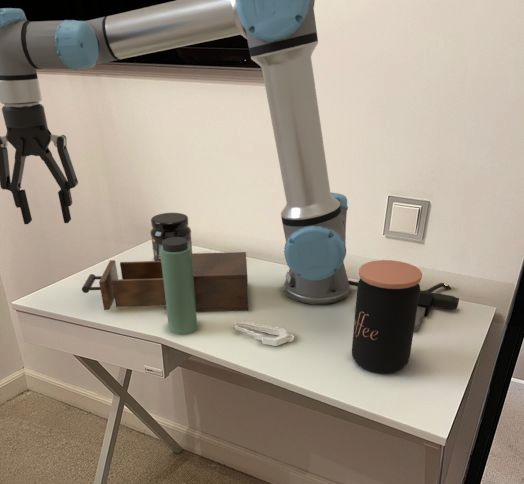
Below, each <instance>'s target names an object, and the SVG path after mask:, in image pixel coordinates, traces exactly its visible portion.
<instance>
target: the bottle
mask: <svg viewBox="0 0 524 484" xmlns="http://www.w3.org/2000/svg"><path fill="white" fill-rule="evenodd" d="M192 254H193V253H192ZM192 254H191V246H190V245H188V244H187V239H186V238H183V237H170V238H166V239H164V240H163V241H162V246H161V247H160V256H161V265H162V273H163V282H164V291H165V300H166V306H165V308H166V317H167V326H168V331H169V332H170V333H172V334H175V335H189V334H192V333H194V332H195V331H197V329H198V327H199V326H198V316H197V312H196V302H195V290H194V278H193V266H192Z"/></svg>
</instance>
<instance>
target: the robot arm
mask: <svg viewBox="0 0 524 484" xmlns="http://www.w3.org/2000/svg"><path fill="white" fill-rule="evenodd" d="M315 1H316V0H173V1H168V2H164V3H159V4H154V5H150V6H147V7H146V6H145V7H142V8H138V9H137V8H136V9H134V10H129V11H125V12H119V13H116V14H112V15H107V16H102V17H98V18H97V17H96V18H93V19H89V20H75V19H64V20H43V21H42V20H41V21H40V20H39V21H34V20H28V19H27V16H26V14H25V11H24V10H23V9H22V8H16V7H15V8H13V7H5V8H4V7H3V8H0V104H2V105H3V106H2V108H1V112H2V116H3V120H4V124H5V128H6V133H5V134H6V135H2V136H0V189H2V190H7V191H10V192H11V194H12V199H13V202H14V206H15V208H19V209H20V212H21V213H20V214H21V216H22V217H21V218H22V221H23V224H24V225H29V224H30V223H31V222H32V221H33V218H32V214H31V210H30V205H29V201H28V196H27V192H26V189H22V180H23V175H24V169H25V165H26V164H25V163H26V159H27V157H29V156H34V157H40V159H41V161H43V163H44V164H45V165H46V167H47V169H48V170H49V172H50V174H51V175H52V177H53V178H54V180H55V182H56V183H57V185H58V187H59V188H60V189H59V190H58V191H57V194H58V199H59V204H60V209H61V214H62V219H63V223H64V224H69V223H70V221H71V220H72V217H71V211H70V207H72V205H73V197H72V192H71V189H74V188H75V187H77V185H78V184H79V181H78V177H77V175H76V171H75V168H74V165H73V162H72V160H71V157H70V153H69V150H68V148H67V136H66V135H64V134H61V135H58V134H52V132H51V131H50V130H49V127H48V120H47V117H46V111H45V107H44V105H43V104H41V102H42V101H43V98H42V92H41V88H40V87H41V86H40V82H39V77H38V72H37V70H42V69H45V70H47V69H48V70H73V71H78V70H86V69H93V68H94V67H95V66H96V65H97V66H98V65H105V64H107V63H109V62H115V61H119V60H123V59H129V58H132V57H138V56H143V55H147V54H151V53H152V54H153V53H157V52H163V51H168V50H171V49H172V50H173V49H176V48H181V47H187V46H191V45H196V44H200V43H205V42H206V43H207V42H211V41H215V40H220V39H224V38H230V37H234V36H235V37H236V36H239V35H240V36H242V37H243V38H244V39H246V40H247V45H248V51H249V55H250V59H251V61H253V62H255V63H256V64H257V65H258V66H260V69H261V72H262V76H263V82H264V89H265V92H266V99H267V104H268V110H269V115H270V121H271V126H272V130H273V131H272V133H273V137H274V143H275V148H276V153H277V159H278V163H279V169H280V175H281V180H282V186H283V191H284V197H285V202H286V203H285V206H284V207H283V209H282V210H281V212H280V217H281V223H282V228H283V234H284V239H285V243H284V248H283V249H284V250H283V255H284V259H285V263H286V265H287V267H288V270H287V271H286V273H285V280H284V293H285V295H287V297H288V298H290V299H291V300H294V301H296V302H299V303H302V304H307V305H329V304H334V303H338V302H340V301H343V300H345V298H347V297H348V295H349V293H350V286H353V287H357V285H358V282H357V281H354V280H349V277H348V274H347V269H346V266H345V263H344V262H345V258H346V255H347V246H346V244H347V243H346V239H347V238H346V234H347V233H346V231H347V230H346V229H347V227H346V226H347V214H348V209H349V206H348V198H347V196H346V195H345V194H342V193H338V192H331V187H330V180H329V175H328V174H329V173H328V165H327V159H326V151H325V145H324V138H323V132H322V122H321V117H320V109H319V104H318V95H317V89H316V82H315V76H314V75H315V74H314V67H313V61H312V60H313V59H312V55H313V52H314V51H315V50H316V48H317V46H318V44H319V39H318V32H317V24H316V23H317V22H316V16H315ZM51 142H52V143H53V146H54V147H56V150H57V154H58V157H59V161H60V162H61V165H62V168H63V171H64V172H63V171H62V169H61V168H60V166H59V165H58V163H57V161H56V159H55V158H54V156H53V153H52V152H51V150H50V148H49V145H50V143H51ZM9 144H10V145H11V146H12V147H13V149H15V153H14V164H13V170H12V176H11V170H10V162H9V151H8V147H9ZM64 173H65V174H64ZM444 283H445V282H440V283H437V284H435V285H434V286H432V287H430V288H428V289H424V290H423V291H427V292H433V293H434V292H435V291H437V290H438V289H440V288H444V289H446V290H452V286H450V285H449V284H448V286H445V285H444Z"/></svg>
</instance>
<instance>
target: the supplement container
mask: <svg viewBox="0 0 524 484" xmlns="http://www.w3.org/2000/svg"><path fill="white" fill-rule="evenodd" d="M150 225H151V230H150V237H151V243H152V253H153V254H152V255H153V261H161V256H160V247H161V246H162V241H163V240H164V239H166V238H170V237H183V238H186V239H187V244H188V245H190V246H191V254H193V243H192V229H191V227H190V226H189V216H187V214H184V213H182V212H181V213H180V212H163V213H158V214H156V215H154V216H153V217H151V219H150Z"/></svg>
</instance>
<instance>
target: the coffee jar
mask: <svg viewBox="0 0 524 484" xmlns="http://www.w3.org/2000/svg"><path fill="white" fill-rule="evenodd" d="M358 275H359V280H358V285H357V286H356V297H355V309H354V321H353V332H352V342H351V343H352V344H351V356H352V359H353V360H354V362H355V363H356V364H357V366H358V367H360V368H361V369H362V370H365V371H367V372H369V373H375V374H380V375H381V374H382V375H387V374H395V373H396V372H399V371H401V370H402V369H403V368H404V367H405V366H407V364H408V363H409V361H410V357H411V351H412V345H413V340H414V333H415V332H414V326H415V320H416V313H417V306H418V300H419V293H420V290H421V286H420V283H421V280H422V278H423V273H422V271H421V270H420V269H419V268H418V267H417V266H415V265H413V264H411V263H408V262H404V261H399V260H394V259H393V260H392V259H391V260H390V259H380V260H372V261H368V262H365V263H364V264H362V265H361V266H360V267H359V269H358Z"/></svg>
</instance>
